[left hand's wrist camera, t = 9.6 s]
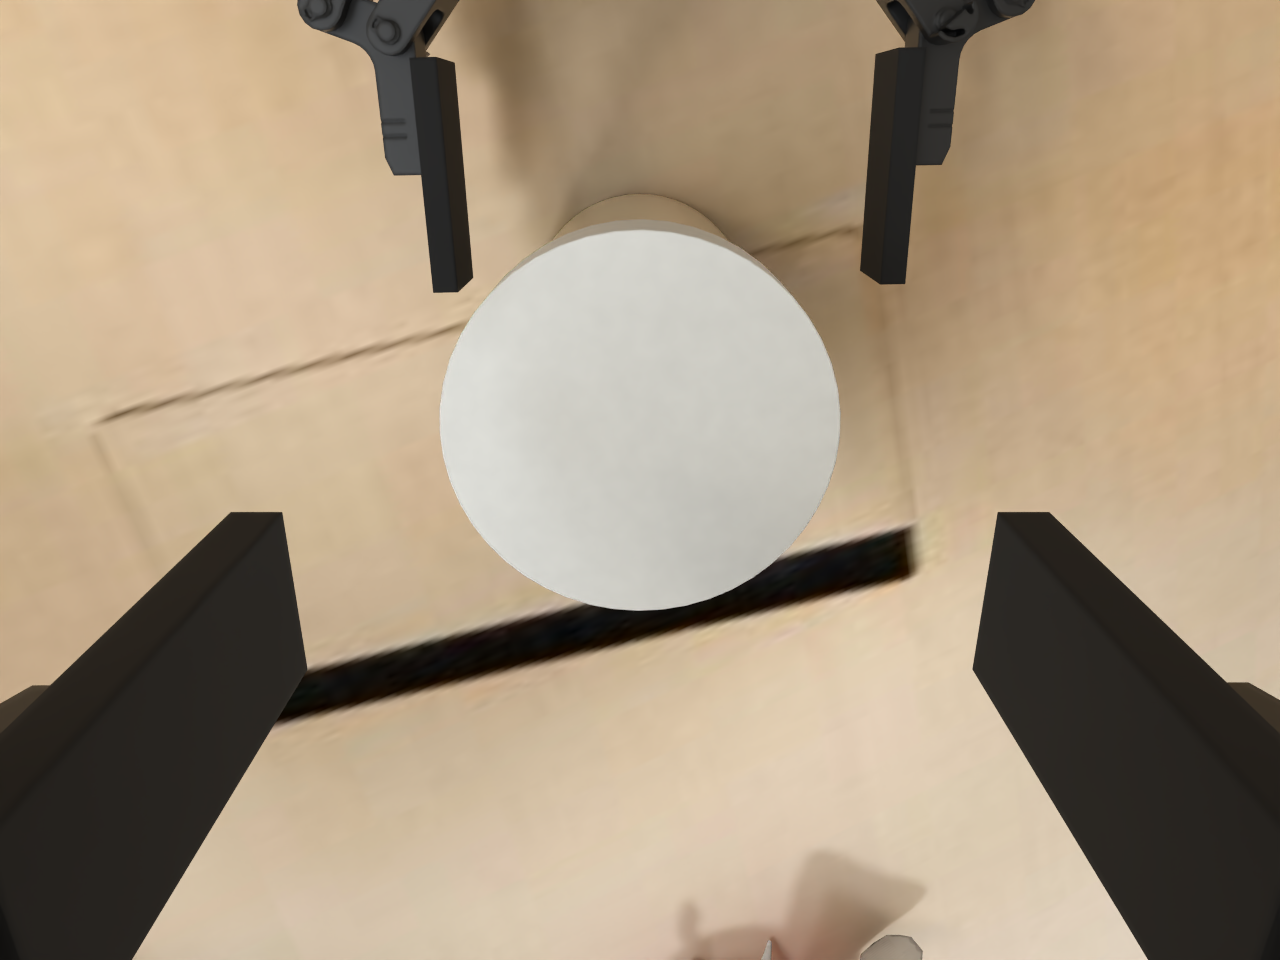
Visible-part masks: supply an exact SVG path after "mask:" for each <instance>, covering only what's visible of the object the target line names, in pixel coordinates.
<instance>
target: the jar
mask: <svg viewBox="0 0 1280 960" xmlns="http://www.w3.org/2000/svg"><path fill="white" fill-rule="evenodd" d="M636 219H647V220H659V221H669V222H674V223H679V224H683V225H688V226H692V227H695V228H698V229H701V230H704V231H706V232H709V233H712V234H714V235H717V236H719V237H721V238H723V239H725V240H727V239H726V237H725V236H724V235H723V234H722V232H721V231H720V230H719V228H718V227H717V226H715V225H714V224H713V223H712V222H711V221H710V220H709V219H708V218H707V217H705V216H704V215H703V214H701V213H700V212H699V211H697V210H696V209H694V208H692V207H690V206H688V205H686V204H684V203H682V202H679V201H677V200H674V199H671V198H668V197H663V196H659V195H652V194H627V195H622V196H616V197H612V198H609V199H606V200H603V201H600V202H598V203H596V204H594V205H592V206H590V207H588V208H586V209H584V210H583V211H582V212H580V213H579V214H577V215H576V216H574V217H573V218H572V219H571V220H570V221H569V222H568V223H567V224H565V225H564V226H563V228H562V229H561V230H560V231H559V232H558V233H557V235H556V236H555V237H554V238H553V240H555V239H557V238H559V237H561V236H563V235H565V234H568V233H571V232H573V231H576V230H579V229H582V228H585V227H588V226H591V225H596V224H602V223H607V222H612V221H618V220H636ZM553 240H552V241H553ZM727 241H728V240H727Z"/></svg>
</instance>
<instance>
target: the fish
mask: <svg viewBox="0 0 1280 960" xmlns="http://www.w3.org/2000/svg"><path fill="white" fill-rule="evenodd" d="M771 947H772V942H771V941H770V940H768V942H767V945H766V948H765V951H764V954H763V956H762V959H761V960H771ZM922 952H923V951H922V949H921V948H920V947H919V946H918V945H917V943H916V942H915V941H914V940H913V939H912V937H908V936H903V935H886V936H884V937H883V938H881V939H879V940H878V941H876V942H874V943H873V944H872V945H871V946H870V947H869V948H868V949H866V950H865V951H864V952H863V953H862V954H861V957H860V960H922Z"/></svg>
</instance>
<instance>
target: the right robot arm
mask: <svg viewBox="0 0 1280 960" xmlns="http://www.w3.org/2000/svg"><path fill="white" fill-rule="evenodd" d="M458 1H459V0H379V1H378V3H376V2H373V0H298V3H297V6H298V10H299V14H300V16H301V17H302V19H303V20H304V22H305V23H306V24H308V25H309V26H310V27H311V28H313V29H317V30H320V31H322V32H325V33H328V34H330V35H333V36H336V37H339V38H341V39H344V40H347V41H350V42H352V43H355V44H357V45H358V46H360V47H361V48H363V49H364V50H365V51H366V52H367V54H368V55H369V56H370V58H371V60H372V62H373V64H374V68H375V74H376V83H377V91H378V100H379V108H380V117H381V122H382V123H381V126H382V134H383V143H384V151H385V158H386V160H387V162H388V164H389V166H390V168H391V170H392V172H393V174H394V175H421V177H422V187H423V197H424V206H425V216H426V226H427V236H428V245H429V255H430V265H431V274H432V284H433V293H442V292H459V291H460V290H461V289H462V288H463V287H464V286H465V285H466V284H467V283H468V282H469V281H470V280H471V279H472V278H473V270H472V259H471V247H470V235H469V224H468V212H467V201H466V189H465V177H464V166H463V154H462V142H461V131H460V119H459V108H458V96H457V84H456V73H455V63H454V62H451V61H447V60H444V59H441V58H438V57H428V56H429V55H430V54H429V53H428V52H426V50H427V48H428V47H429V45H430V44H431V42H432V41H433V39H434V38H435V36H436V35H437V33H438V32H439V30H440V29H441V27H442V26H443V24H444V23H445V21H446V20H447V18H448V17H449V15H450V14H451V12H452V10H453V9H454V7H455V6H456V4H457V3H458ZM876 1H877V2H878V4H879V5H880V7H881V8H882V9H883V11H884V12H885V14H886V15H887V17H888V18H889V20H890V21H891V22H892V24H893V25H894V27H895V28H896V30H897V31H898V32H899V34H900V35H901V37H902V38H903V40H904V41H905V48H896V49H893V50H889V51H885V52H882V53H878V54H876V56H875V70H874V84H873V98H872V112H871V126H870V140H869V154H868V168H867V182H866V196H865V210H864V224H863V238H862V252H861V266H860V271H862V272H863V273H864V274H866V275H867V276H869V277H870V278H872V279H873V280H875V281H876V282H878V283H879V284H905V279H906V268H907V257H908V246H909V235H910V224H911V213H912V202H913V191H914V179H915V168H916V165H942V163H943V161H944V159H945V156H946V154H947V152H948V150H949V148H950V143H951V134H952V124H953V114H954V112H953V110H954V105H955V95H956V85H957V75H958V66H959V58H960V53H961V51H962V48H963V46H964V44H965V43H966V42H967V40H968V39H969V38H970V37H971V36H972V35H974V34H975V33H977V32H978V31H980V30H983V29H985V28H987V27H990V26H992V25H995V24H997V23H1000V22H1002V21H1005V20H1007V19H1010V18H1012V17H1015V16H1018V15H1021V14H1023V13H1024V12H1026V11H1027V10H1028V9H1029V8H1030V7H1031V6H1032V4H1033V3H1034V1H1035V0H876Z"/></svg>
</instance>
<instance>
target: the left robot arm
mask: <svg viewBox="0 0 1280 960" xmlns="http://www.w3.org/2000/svg"><path fill="white" fill-rule="evenodd" d="M306 671H307V663H306V657H305V651H304V645H303V639H302V632H301V626H300V620H299V614H298V608H297V601H296V595H295V589H294V583H293V577H292V570H291V564H290V558H289V552H288V546H287V539H286V533H285V527H284V521H283V515H282V512H231V513H230V514H228V515H227V516H226V517H225V518H224V519H223V520H222V521H221V522H220V523H219V524H218V525H217V526H216V527H215V528H214V529H213V530H212V531H211V532H210V533H209V534H208V535H207V536H206V537H205V538H203V539H202V540H201V541H200V542H199V543H198V544H197V545H196V546H195V547H194V548H193V549H192V550H191V551H190V552H189V553H188V554H187V555H186V556H185V557H184V558H183V559H182V560H181V561H180V562H178V563H177V564H176V565H175V566H174V567H173V568H172V569H171V570H170V571H169V572H168V573H167V574H166V575H165V576H164V577H163V578H162V579H161V580H160V581H159V582H158V583H157V584H156V585H154V586H153V587H152V588H151V589H150V590H149V591H148V592H147V593H146V594H145V595H144V596H143V597H142V598H141V599H140V600H139V601H138V602H137V603H136V604H135V605H134V606H133V607H132V608H131V609H129V610H128V611H127V612H126V613H125V614H124V615H123V616H122V617H121V618H120V619H119V620H118V621H117V622H116V623H115V624H114V625H113V626H112V627H111V628H110V629H109V630H108V631H107V632H106V633H104V634H103V635H102V636H101V637H100V638H99V639H98V640H97V641H96V642H95V643H94V644H93V645H92V646H91V647H90V648H89V649H88V650H87V651H86V652H85V653H84V654H83V655H82V656H81V657H79V658H78V659H77V660H76V661H75V662H74V663H73V664H72V665H71V666H70V667H69V668H68V669H67V670H66V671H65V672H64V673H63V674H62V675H61V676H60V677H59V678H58V679H57V680H56V681H54V682H53V683H52V684H51V685H50V686H31V687H29V688H27V689H25V690H24V691H22V692H20V693H18V694H17V695H15V696H13V697H11V698H9V699H8V700H6V701H4V702H2V703H1V704H0V960H132V959H133V957H134V955H135V954H136V952H137V950H138V949H139V947H140V945H141V944H142V942H143V940H144V939H145V937H146V935H147V934H148V932H149V930H150V929H151V927H152V926H153V924H154V922H155V921H156V919H157V917H158V916H159V914H160V912H161V911H162V909H163V907H164V906H165V904H166V902H167V901H168V899H169V897H170V896H171V894H172V892H173V891H174V889H175V887H176V886H177V884H178V883H179V881H180V879H181V878H182V876H183V874H184V873H185V871H186V869H187V868H188V866H189V864H190V863H191V861H192V859H193V858H194V856H195V854H196V853H197V851H198V849H199V848H200V846H201V845H202V843H203V841H204V840H205V838H206V836H207V835H208V833H209V831H210V830H211V828H212V826H213V825H214V823H215V821H216V820H217V818H218V816H219V815H220V813H221V811H222V810H223V808H224V806H225V805H226V803H227V802H228V800H229V798H230V797H231V795H232V793H233V792H234V790H235V788H236V787H237V785H238V783H239V782H240V780H241V778H242V777H243V775H244V773H245V772H246V770H247V768H248V767H249V765H250V763H251V762H252V760H253V759H254V757H255V755H256V754H257V752H258V750H259V749H260V747H261V745H262V744H263V742H264V740H265V739H266V737H267V735H268V734H269V732H270V730H271V729H272V727H273V725H274V724H275V722H276V721H277V719H278V717H279V716H280V714H281V712H282V711H283V709H284V707H285V706H286V704H287V702H288V701H289V699H290V697H291V696H292V694H293V692H294V691H295V689H296V687H297V686H298V684H299V682H300V681H301V679H302V678H303V676H304V674H305V673H306ZM973 671H974V673H975V674H976V676H977V678H978V679H979V681H980V682H981V684H982V686H983V687H984V689H985V691H986V692H987V694H988V696H989V697H990V699H991V701H992V702H993V704H994V706H995V707H996V709H997V711H998V712H999V714H1000V716H1001V717H1002V719H1003V721H1004V722H1005V724H1006V725H1007V727H1008V729H1009V730H1010V732H1011V734H1012V735H1013V737H1014V739H1015V740H1016V742H1017V744H1018V745H1019V747H1020V749H1021V750H1022V752H1023V754H1024V755H1025V757H1026V759H1027V760H1028V762H1029V763H1030V765H1031V767H1032V768H1033V770H1034V772H1035V773H1036V775H1037V777H1038V778H1039V780H1040V782H1041V783H1042V785H1043V787H1044V788H1045V790H1046V792H1047V793H1048V795H1049V797H1050V798H1051V800H1052V802H1053V803H1054V805H1055V806H1056V808H1057V810H1058V811H1059V813H1060V815H1061V816H1062V818H1063V820H1064V821H1065V823H1066V825H1067V826H1068V828H1069V830H1070V831H1071V833H1072V835H1073V836H1074V838H1075V840H1076V841H1077V843H1078V845H1079V846H1080V848H1081V849H1082V851H1083V853H1084V854H1085V856H1086V858H1087V859H1088V861H1089V863H1090V864H1091V866H1092V868H1093V869H1094V871H1095V873H1096V874H1097V876H1098V878H1099V879H1100V881H1101V883H1102V884H1103V886H1104V887H1105V889H1106V891H1107V892H1108V894H1109V896H1110V897H1111V899H1112V901H1113V902H1114V904H1115V906H1116V907H1117V909H1118V911H1119V912H1120V914H1121V916H1122V917H1123V919H1124V921H1125V922H1126V924H1127V926H1128V927H1129V929H1130V930H1131V932H1132V934H1133V935H1134V937H1135V939H1136V940H1137V942H1138V944H1139V945H1140V947H1141V949H1142V950H1143V952H1144V954H1145V955H1146V957H1147V959H1148V960H1280V700H1279V699H1277V698H1275V697H1273V696H1271V695H1270V694H1268V693H1266V692H1264V691H1263V690H1261V689H1259V688H1257V687H1256V686H1254V685H1252V684H1250V683H1227V682H1226V681H1224V680H1223V679H1222V678H1221V677H1220V676H1219V675H1218V674H1217V673H1216V672H1215V671H1214V670H1213V669H1212V668H1211V667H1210V666H1209V665H1208V664H1207V663H1206V662H1205V661H1204V660H1203V659H1202V658H1201V657H1199V656H1198V655H1197V654H1196V653H1195V652H1194V651H1193V650H1192V649H1191V648H1190V647H1189V646H1188V645H1187V644H1186V643H1185V642H1184V641H1183V640H1182V639H1181V638H1180V637H1179V636H1178V635H1177V634H1176V633H1174V632H1173V631H1172V630H1171V629H1170V628H1169V627H1168V626H1167V625H1166V624H1165V623H1164V622H1163V621H1162V620H1161V619H1160V618H1159V617H1158V616H1157V615H1156V614H1155V613H1154V612H1153V611H1152V610H1151V609H1149V608H1148V607H1147V606H1146V605H1145V604H1144V603H1143V602H1142V601H1141V600H1140V599H1139V598H1138V597H1137V596H1136V595H1135V594H1134V593H1133V592H1132V591H1131V590H1130V589H1129V588H1128V587H1127V586H1126V585H1124V584H1123V583H1122V582H1121V581H1120V580H1119V579H1118V578H1117V577H1116V576H1115V575H1114V574H1113V573H1112V572H1111V571H1110V570H1109V569H1108V568H1107V567H1106V566H1105V565H1104V564H1103V563H1102V562H1100V561H1099V560H1098V559H1097V558H1096V557H1095V556H1094V555H1093V554H1092V553H1091V552H1090V551H1089V550H1088V549H1087V548H1086V547H1085V546H1084V545H1083V544H1082V543H1081V542H1080V541H1079V540H1078V539H1077V538H1075V537H1074V536H1073V535H1072V534H1071V533H1070V532H1069V531H1068V530H1067V529H1066V528H1065V527H1064V526H1063V525H1062V524H1061V523H1060V522H1059V521H1058V520H1057V519H1056V518H1055V517H1054V516H1053V515H1052V514H1050V513H1049V512H998V515H997V521H996V527H995V533H994V539H993V546H992V552H991V558H990V564H989V570H988V577H987V583H986V589H985V595H984V601H983V608H982V614H981V620H980V626H979V632H978V639H977V645H976V651H975V657H974V663H973Z"/></svg>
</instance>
